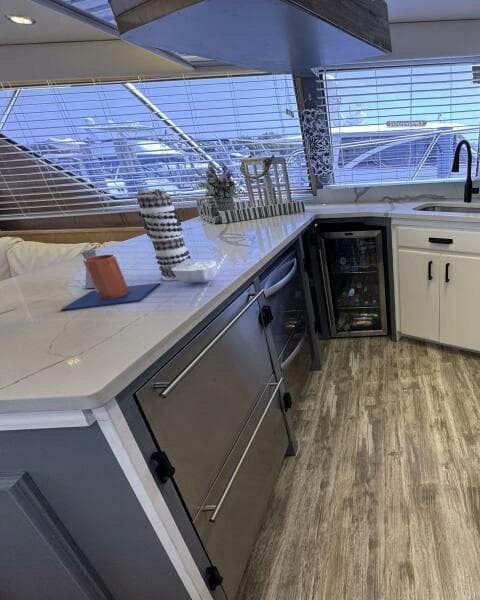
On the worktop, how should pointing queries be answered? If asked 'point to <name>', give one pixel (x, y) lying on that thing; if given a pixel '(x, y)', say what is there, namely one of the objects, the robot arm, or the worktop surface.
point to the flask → (89, 282)
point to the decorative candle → (163, 230)
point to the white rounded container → (195, 271)
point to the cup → (106, 276)
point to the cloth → (94, 300)
